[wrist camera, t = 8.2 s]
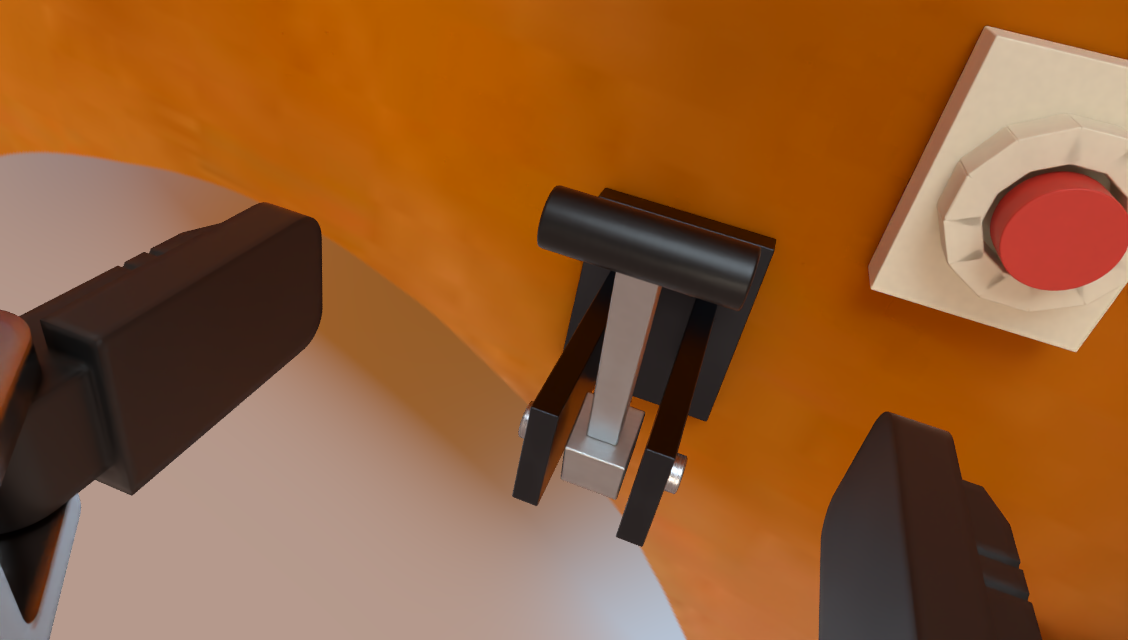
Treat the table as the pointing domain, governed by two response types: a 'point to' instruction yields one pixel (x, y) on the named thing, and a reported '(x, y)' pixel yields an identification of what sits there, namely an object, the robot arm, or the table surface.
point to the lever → (633, 310)
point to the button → (1059, 231)
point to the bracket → (639, 374)
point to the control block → (1008, 184)
